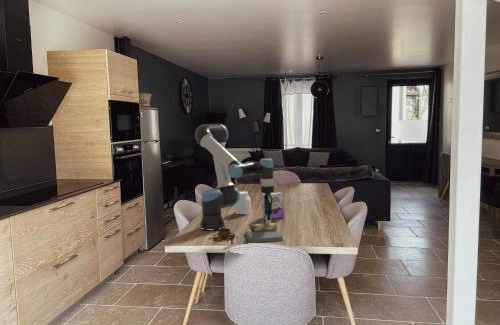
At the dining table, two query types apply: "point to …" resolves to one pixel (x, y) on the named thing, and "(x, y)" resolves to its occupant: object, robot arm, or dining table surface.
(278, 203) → the candy box
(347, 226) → the dining table surface
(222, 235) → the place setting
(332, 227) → the dining table surface
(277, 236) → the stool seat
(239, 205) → the jar
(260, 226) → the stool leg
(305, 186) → the dining table surface
